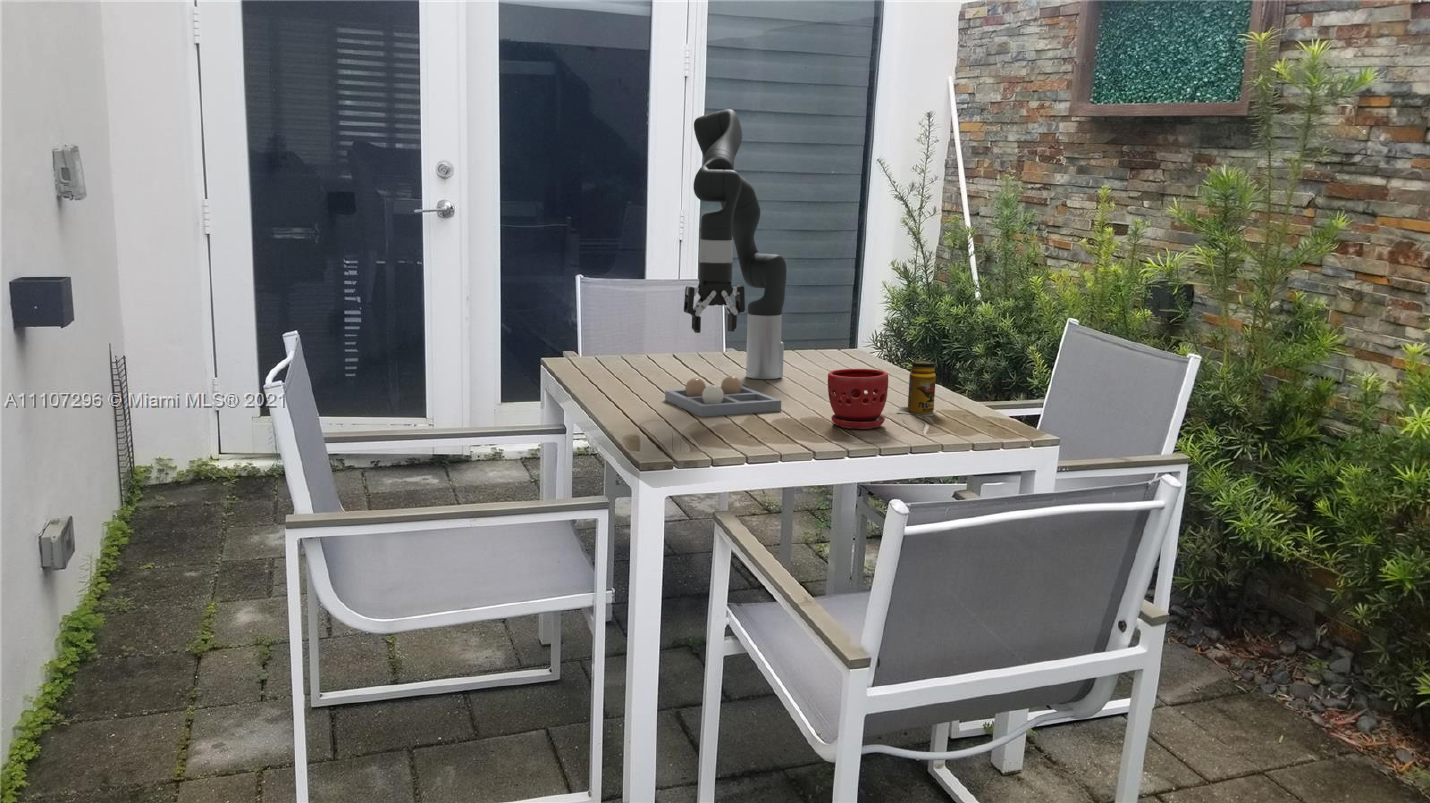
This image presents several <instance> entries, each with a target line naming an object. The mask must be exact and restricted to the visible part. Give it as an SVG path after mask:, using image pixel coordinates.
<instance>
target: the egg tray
mask: <svg viewBox="0 0 1430 803" xmlns="http://www.w3.org/2000/svg"><path fill="white" fill-rule="evenodd" d="M719 387H720V388H721V386H719ZM665 400H666V402H668V403H670V404H672V405H674V404H676V405H677V407H678V406H679V408H681V409H683V410H686V411H688V412H689V413H692V414H694V415H696V416H699V417H701V418H705V417H715V416H716V417H719V416H730V415H732V416H733V415H742V414H743V415H744V414H757V413H758V414H759V413H768V412H771V413H772V412H780V411H782V400H781V399H778V398H775V397H773V396H770V395H767V394H765V393H762V392H761V391H760V392H759V391H757V390H754V389H751V388H750V387H746V386H744V385H742V389H741V391H740V393H739V394H726V395H725V394H724V398H723V401H722V402H721V403H720V404H705V403H704V401H703V399H702V396H697V397H689V396H688V395H687V394H686V391H685V388H681V389H670V390H669V389H668V390H664V401H665ZM676 405H675V406H676Z"/></svg>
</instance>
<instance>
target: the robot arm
mask: <svg viewBox="0 0 1430 803" xmlns="http://www.w3.org/2000/svg"><path fill="white" fill-rule="evenodd" d="M693 122H694V123H693V130H694V134H695V135H694V136H695V139H696V141H697V143H698V146H699V149H700V151H701V153H702V156H703V158H704V159H703V165H702V166H701V167H700V168H699V169H698V171H697V173H696V174H695V176H694V179H693V193H694V195H695V196H696V198H697V199H699V200H700V201H702V202H714V203H715V202H717V203H720V205H721V208H722V209H719V210H717V211H710V212H707V213H704V214H702V216H701V221H700V242H699V244H700V245H699V249H698V250H699V252H698V253H699V254H698V285H697V286H696V287H694V286H688V285H687V286H686V287H685V289H684V290H685V291H684V300H683V301H684V302H683V312H684V313H685V314H689V315H691V330H693V332H694V333H695V334H701V331H702V330H701V329H702V326H701V325H702V323H701V322H702V319H701V318H702V316H701V315H702V313H703V311H704V310H705V309H706V308H707V307H708V306H710V307H712V306H723V307H724V308H725V309H726V311H727V313H728V314H727V331H728V332H731V333H732V332H735V330H736V329H737V322H738V320H737V317H738V314H740V313H744V312H745V311H746V302H745V301H746V299H745V295H746V294H745V293H746V292H745V291H746V290H745V287H744V285H739V284H737V285H735V286H733V285H732V280H733V260H734V255H733V253H734V252H733V250H734V249H733V242H734V247H735V250H736V251H735V252H736V255H737V259H738V263H739V267H740V271H741V275H742V278H743V280H744V282H745V284H746V285H747V286H749V287H751V288H754V289H755V288H756V289H757V288H758V289H764V292H763V296H762V297H761V298H759V299H757V300H753V301H751V302H749V303H748V305H747V320H746V321H747V323H746V324H747V326H746V327H747V331H746V332H747V333H746V358H745V360H746V363H745V364H746V366H745V376H746V378H749V379H754V380H774V379H779V378H784V357H785V356H784V355H785V354H784V353H785V352H784V350H785V343H784V342H783V341H782V321H783V318H782V317H783V308H784V304H785V299H786V298H785V296H786V283H787V270H788V269H787V264H786V261H785V258H784V257H783V256H782V255H780V254H776V253H775V254H774V253H760V252H759V250H758V248H757V246H756V242H755V234H756V230H757V229H758V224H759V222H760V219H761V207H760V203H759V200H758V197H757V195H756V191H755V188H754V187H753V185H752V184H751V183H750V182H749V181H748V180H747V179H745V178H744V177H743V176H741V175H740V174H739V173H738V171H736V170H735V168H734V167H735V158H736V155H737V154H738V153H739V152H738V151H739V149H740V146H741V145H742V140H743V130H742V126H741V125H742V124H741V121H740V118H739V117H738V114H737V113H736V112H735V111H734V110H733V109H729V108H728V109H727V108H725V109H722V110H719V111H714V112H711V113H708V114H704V115H701V116H699V117H697V118H695V119H694V121H693ZM697 294H698V295H699V298H698V299H697V301H696V302H694V301H695V297H696V295H697ZM732 294H733V295H734V296H735V297H734V301H735V304H734V302H733V301H732V299H731V298H730V296H731V295H732ZM694 303H695V305H694Z"/></svg>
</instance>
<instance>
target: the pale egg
mask: <svg viewBox="0 0 1430 803" xmlns="http://www.w3.org/2000/svg"><path fill="white" fill-rule="evenodd" d="M720 387H721V386H719V385H716V384H710V385H706V388H705V389H704V390H703V392H702V399H703V401H704V403H705V404H720V403H721V402H722V401H723V398H724V393H723V391H722V389H721V388H720Z"/></svg>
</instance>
